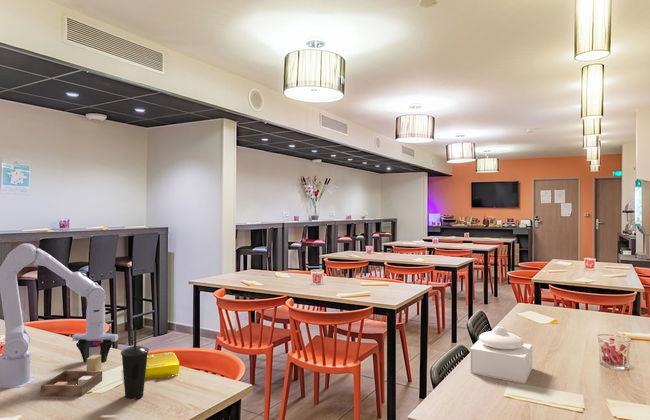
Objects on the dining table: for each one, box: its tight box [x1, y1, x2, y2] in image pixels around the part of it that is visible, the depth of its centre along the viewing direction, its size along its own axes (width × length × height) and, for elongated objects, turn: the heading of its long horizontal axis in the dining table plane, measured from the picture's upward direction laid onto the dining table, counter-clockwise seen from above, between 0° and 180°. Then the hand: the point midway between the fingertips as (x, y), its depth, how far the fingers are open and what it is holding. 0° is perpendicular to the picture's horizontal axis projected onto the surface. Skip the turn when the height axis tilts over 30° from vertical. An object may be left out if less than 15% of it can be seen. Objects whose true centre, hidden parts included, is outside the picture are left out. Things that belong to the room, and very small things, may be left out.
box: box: [40, 370, 103, 397], centre depth 135 cm, size 12×12×4 cm
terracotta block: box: [54, 382, 68, 385], centre depth 133 cm, size 3×3×2 cm
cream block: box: [78, 376, 93, 385], centre depth 138 cm, size 3×3×2 cm
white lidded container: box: [469, 325, 534, 385], centre depth 156 cm, size 18×18×16 cm
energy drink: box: [89, 341, 103, 357], centre depth 162 cm, size 5×5×12 cm
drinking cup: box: [120, 328, 150, 401], centre depth 130 cm, size 8×8×20 cm
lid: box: [86, 355, 103, 371], centre depth 149 cm, size 13×13×6 cm
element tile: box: [145, 351, 180, 380], centre depth 151 cm, size 15×15×5 cm
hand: (95, 361), depth 150 cm, fingers open, 5 cm apart
